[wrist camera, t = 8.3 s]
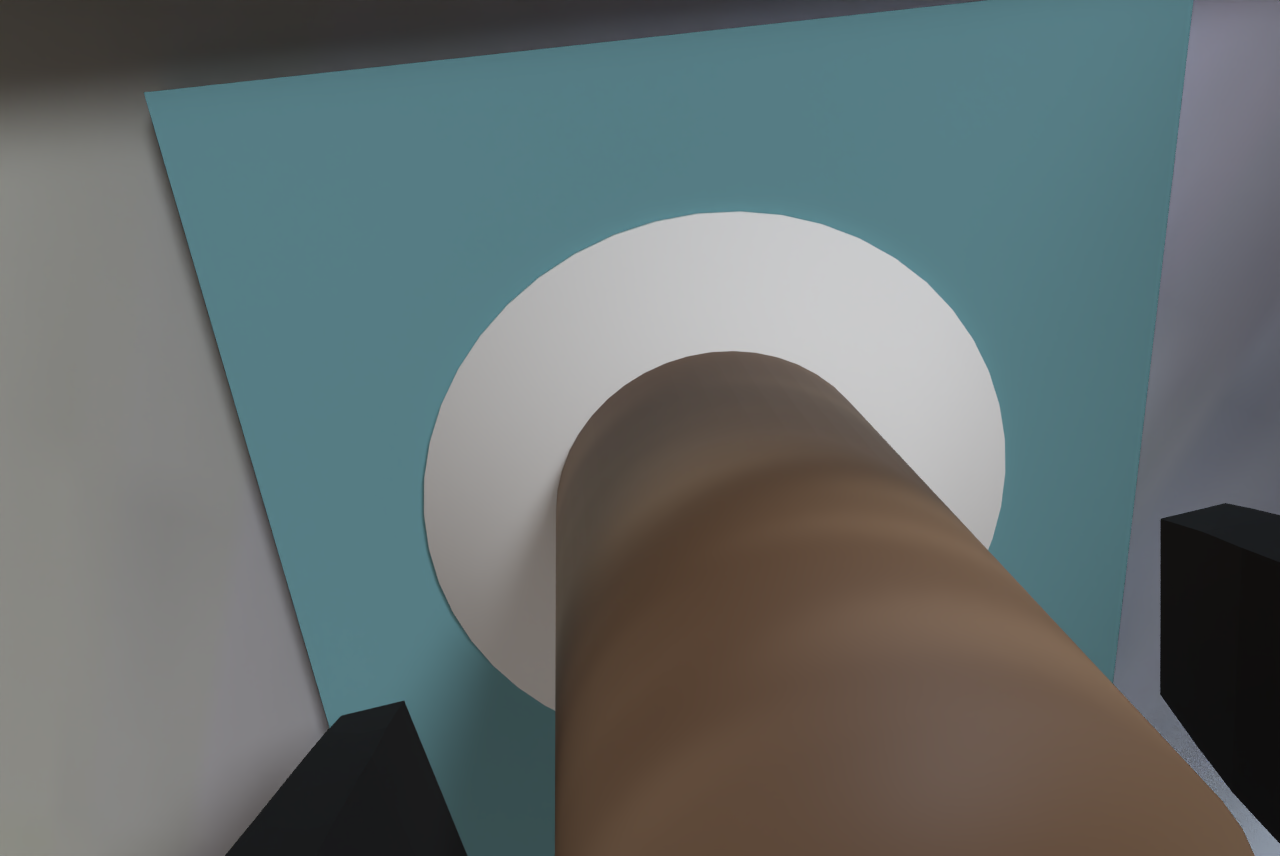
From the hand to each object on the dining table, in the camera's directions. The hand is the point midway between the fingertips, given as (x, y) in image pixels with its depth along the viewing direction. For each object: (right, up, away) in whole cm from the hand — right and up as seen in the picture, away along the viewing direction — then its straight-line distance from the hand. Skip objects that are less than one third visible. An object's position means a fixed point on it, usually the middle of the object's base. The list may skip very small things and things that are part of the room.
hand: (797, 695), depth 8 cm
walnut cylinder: (0, +1, +4) cm, 4 cm away
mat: (0, +2, +4) cm, 5 cm away
